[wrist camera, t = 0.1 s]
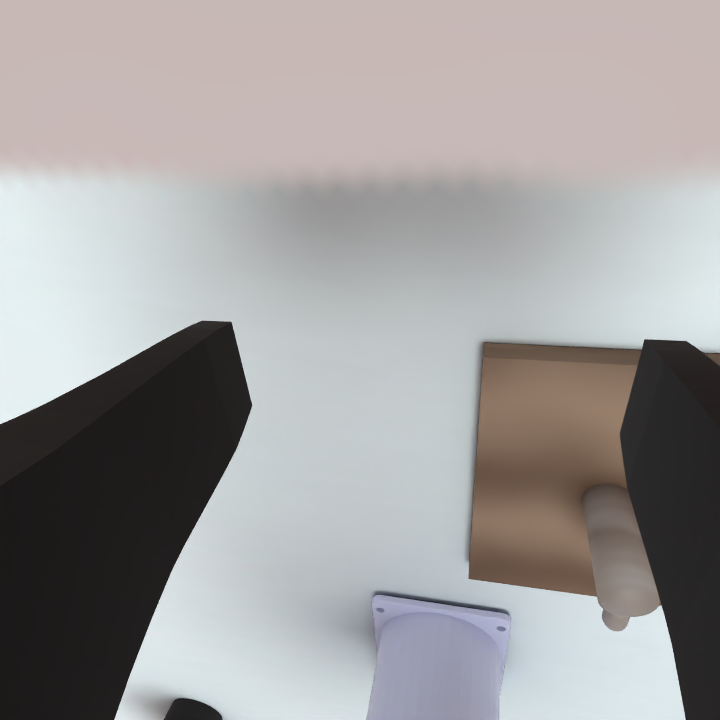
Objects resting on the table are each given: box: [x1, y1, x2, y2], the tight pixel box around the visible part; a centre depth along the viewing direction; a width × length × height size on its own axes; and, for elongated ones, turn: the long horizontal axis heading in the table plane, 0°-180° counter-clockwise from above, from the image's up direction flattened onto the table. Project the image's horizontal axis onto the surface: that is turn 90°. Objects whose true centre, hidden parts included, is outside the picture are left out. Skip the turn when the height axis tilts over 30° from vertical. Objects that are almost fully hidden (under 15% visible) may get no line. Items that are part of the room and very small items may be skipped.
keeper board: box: [469, 343, 720, 631], centre depth 21 cm, size 14×11×6 cm
